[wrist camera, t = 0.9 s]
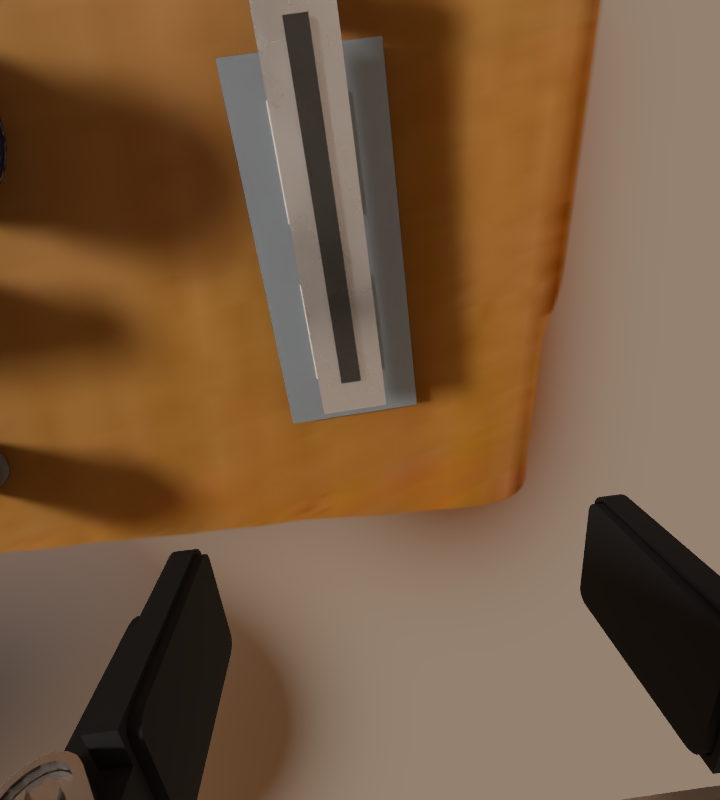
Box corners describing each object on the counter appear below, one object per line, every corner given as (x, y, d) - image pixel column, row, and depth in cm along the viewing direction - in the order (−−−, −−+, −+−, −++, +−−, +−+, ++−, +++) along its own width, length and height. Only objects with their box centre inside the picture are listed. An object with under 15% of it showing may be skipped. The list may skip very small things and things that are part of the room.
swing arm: (229, -121, 19) (217, -166, 17) (317, -132, 19) (316, -179, 17) (324, 405, 29) (324, 418, 26) (383, 395, 29) (387, 408, 27)
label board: (202, -19, 25) (168, -92, 20) (370, -41, 25) (383, -119, 20) (294, 416, 35) (288, 450, 30) (413, 397, 36) (429, 427, 30)
